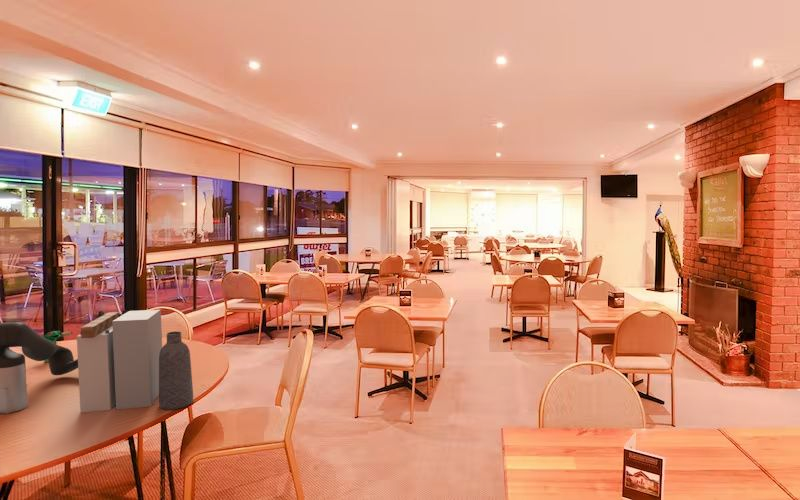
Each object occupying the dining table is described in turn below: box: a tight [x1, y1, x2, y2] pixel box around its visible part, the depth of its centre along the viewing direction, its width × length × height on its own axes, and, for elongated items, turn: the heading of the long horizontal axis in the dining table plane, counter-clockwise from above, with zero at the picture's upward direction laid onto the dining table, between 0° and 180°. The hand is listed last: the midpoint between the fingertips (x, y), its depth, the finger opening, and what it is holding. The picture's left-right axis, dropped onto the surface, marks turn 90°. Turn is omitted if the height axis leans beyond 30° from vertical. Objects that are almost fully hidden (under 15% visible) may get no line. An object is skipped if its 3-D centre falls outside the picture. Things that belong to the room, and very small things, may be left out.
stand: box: [76, 309, 163, 413], centre depth 187 cm, size 20×24×34 cm
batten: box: [80, 311, 120, 338], centre depth 185 cm, size 28×4×4 cm, turn 14°
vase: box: [158, 331, 194, 411], centre depth 183 cm, size 12×12×28 cm
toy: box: [43, 330, 73, 363], centre depth 240 cm, size 26×6×15 cm, turn 168°
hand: (112, 312), depth 196 cm, fingers open, 8 cm apart
